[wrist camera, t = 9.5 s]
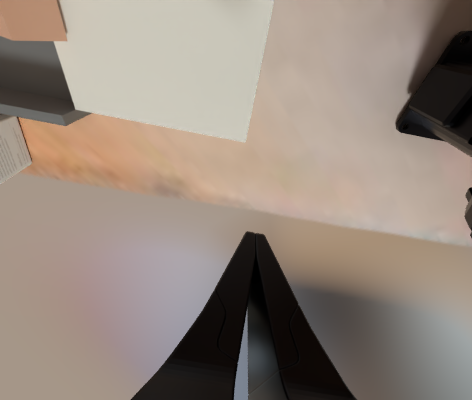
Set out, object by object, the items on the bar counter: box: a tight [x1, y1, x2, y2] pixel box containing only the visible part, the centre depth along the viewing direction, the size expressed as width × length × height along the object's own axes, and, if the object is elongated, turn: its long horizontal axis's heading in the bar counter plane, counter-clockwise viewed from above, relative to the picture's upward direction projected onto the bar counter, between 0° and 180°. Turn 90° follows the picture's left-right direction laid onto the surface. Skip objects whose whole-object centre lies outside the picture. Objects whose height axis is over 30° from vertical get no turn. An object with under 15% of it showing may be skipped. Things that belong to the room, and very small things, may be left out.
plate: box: [54, 0, 274, 143], centre depth 13 cm, size 14×14×2 cm
